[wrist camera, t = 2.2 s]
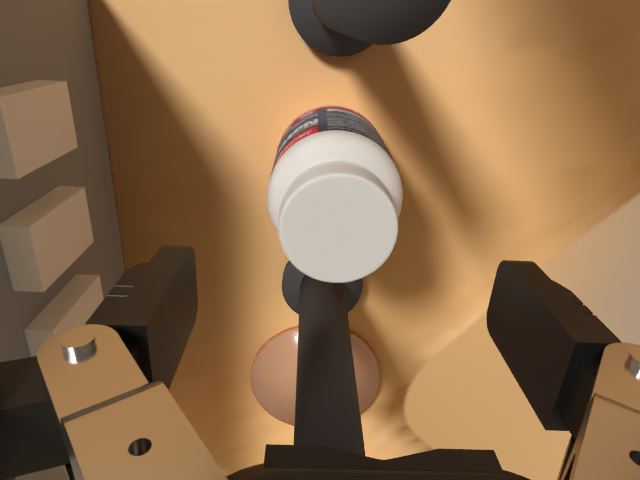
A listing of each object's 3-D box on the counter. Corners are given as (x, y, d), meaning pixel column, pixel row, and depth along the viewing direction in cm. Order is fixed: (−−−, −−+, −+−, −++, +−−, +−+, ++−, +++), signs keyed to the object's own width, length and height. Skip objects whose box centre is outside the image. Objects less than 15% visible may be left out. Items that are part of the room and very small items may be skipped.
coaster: (251, 321, 27) (250, 325, 27) (386, 326, 28) (387, 330, 27) (252, 422, 31) (251, 426, 30) (372, 425, 31) (373, 429, 31)
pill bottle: (306, 83, 22) (303, 119, 14) (401, 134, 23) (451, 195, 15) (260, 180, 24) (233, 262, 16) (350, 223, 25) (368, 320, 17)
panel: (54, -31, 20) (-269, -97, 9) (107, -27, 20) (-148, -89, 9) (120, 376, 29) (5, 591, 18) (156, 378, 29) (63, 592, 18)
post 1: (283, 243, 25) (255, 467, 12) (364, 246, 25) (417, 471, 13) (282, 311, 27) (256, 567, 14) (357, 313, 27) (397, 569, 14)
